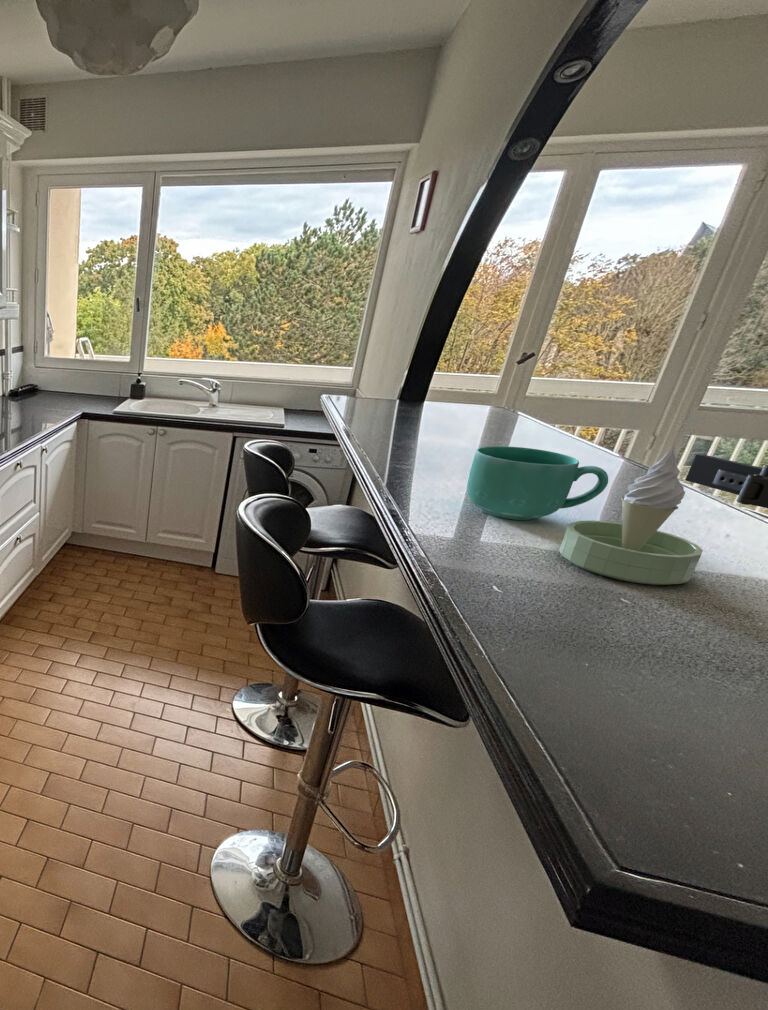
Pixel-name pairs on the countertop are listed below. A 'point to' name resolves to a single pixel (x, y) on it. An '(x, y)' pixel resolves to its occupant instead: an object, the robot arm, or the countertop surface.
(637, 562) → the bowl
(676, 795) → the countertop surface
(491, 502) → the mug
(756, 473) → the robot arm
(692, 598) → the countertop surface
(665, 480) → the ice cream cone
